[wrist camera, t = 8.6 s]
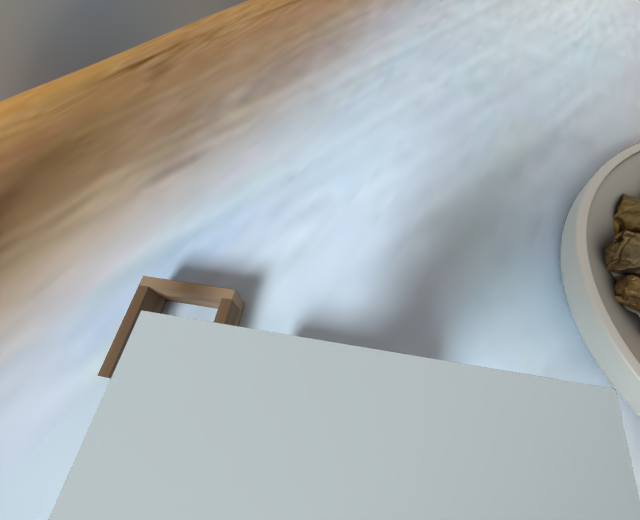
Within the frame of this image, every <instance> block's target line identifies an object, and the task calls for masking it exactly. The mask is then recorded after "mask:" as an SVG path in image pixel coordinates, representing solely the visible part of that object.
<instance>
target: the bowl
mask: <svg viewBox="0 0 640 520" xmlns="http://www.w3.org/2000/svg"><path fill="white" fill-rule="evenodd" d="M560 255H561V273H562V280H563V286H564V291H565V295H566V299H567V302H568V305H569V308H570V311H571V314H572V316H573V319H574V321H575V324H576V326H577V328H578V330H579V332H580V335H581V337H582V338H583V340H584V342H585V344H586V346H587V348H588V350H589V351H590V353H591V355H592V356H593V358H594V360H595V361H596V363H597V364H598V366H599V367H600V369H601V370H602V372H603V373H604V375H605V376H606V377H607V379H608V380H609V381H610V383H611V384H612V385H613V387H614V388H615V389H616V391H617V392H618V393H619V394H620V395H621V397H622V398H623V399H624V400H625V402H626V403H627V404H628V405H629V406H630V407H631V408H632V409H633V411H634V412H635V413H636V414H637V415H638V416H639V417H640V143H638V144H635V145H633V146H631V147H629V148H627V149H625V150H623V151H622V152H620V153H618V154H617V155H615V156H614V157H613V158H611V159H610V160H609V161H608V162H607V163H605V164H604V165H603V166H602V167H601V168H600V169H599V170H598V171H597V172H596V173H595V174H594V175H593V176H592V177H591V179H590V180H589V181H588V182H587V183H586V184H585V186H584V187H583V188H582V190H581V191H580V193H579V194H578V196H577V198H576V199H575V201H574V203H573V205H572V207H571V209H570V211H569V214H568V217H567V219H566V222H565V226H564V230H563V235H562V241H561V253H560Z"/></svg>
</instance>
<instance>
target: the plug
mask: <svg viewBox="0 0 640 520" xmlns="http://www.w3.org/2000/svg"><path fill="white" fill-rule="evenodd" d="M48 520H640V500H639V495H638V490H637V486H636V481H635V477H634V472H633V467H632V463H631V458H630V453H629V449H628V444H627V440H626V435H625V430H624V426H623V421H622V416H621V412H620V407H619V403H618V398H617V393H616V389H614V388H607V387H601V386H595V385H589V384H583V383H577V382H571V381H565V380H559V379H553V378H547V377H541V376H535V375H529V374H523V373H517V372H511V371H505V370H499V369H493V368H487V367H480V366H474V365H468V364H462V363H456V362H450V361H444V360H438V359H432V358H426V357H420V356H414V355H408V354H402V353H396V352H390V351H384V350H378V349H372V348H366V347H359V346H353V345H347V344H341V343H335V342H329V341H323V340H317V339H311V338H305V337H299V336H293V335H287V334H281V333H275V332H269V331H263V330H257V329H251V328H245V327H239V326H232V325H226V324H220V323H214V322H208V321H202V320H196V319H190V318H184V317H178V316H172V315H166V314H160V313H154V312H148V311H142V310H141V312H140V314H139V317H138V319H137V321H136V323H135V326H134V328H133V330H132V332H131V335H130V337H129V339H128V341H127V344H126V346H125V348H124V350H123V353H122V355H121V357H120V359H119V362H118V364H117V366H116V368H115V371H114V373H113V375H112V377H111V380H110V382H109V384H108V386H107V389H106V391H105V393H104V395H103V398H102V400H101V402H100V404H99V407H98V409H97V411H96V413H95V416H94V418H93V420H92V422H91V425H90V427H89V429H88V431H87V434H86V436H85V438H84V441H83V443H82V445H81V447H80V450H79V452H78V454H77V456H76V459H75V461H74V463H73V465H72V468H71V470H70V472H69V474H68V477H67V479H66V481H65V483H64V486H63V488H62V490H61V492H60V495H59V497H58V499H57V501H56V504H55V506H54V508H53V510H52V513H51V515H50V517H49V519H48Z"/></svg>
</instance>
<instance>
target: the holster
mask: <svg viewBox="0 0 640 520" xmlns="http://www.w3.org/2000/svg"><path fill="white" fill-rule="evenodd" d="M166 300H168V301H174V302H180V303H187V304H193V305H199V306H206V307H212V308H218V311H217V314H216V317H215V320H214V323H220V324H226V325H232V326H238V325H239V321H240V318H241V314H242V311H243V308H244V304H245V303H244V302H243V300H242V299H241V297H240V296H239V295H238V293H237V292H236V290H234V289H227V288H221V287H214V286H207V285H201V284H194V283H187V282H181V281H174V280H167V279H160V278H154V277H147V276H143V278H142V280H141V282H140V284H139V286H138V289H137V291H136V293H135V295H134V297H133V299H132V302H131V304H130V306H129V308H128V310H127V313H126V315H125V317H124V319H123V321H122V323H121V326H120V328H119V330H118V332H117V334H116V337H115V339H114V341H113V343H112V345H111V347H110V350H109V352H108V354H107V356H106V358H105V361H104V363H103V365H102V367H101V369H100V371H99V374H98V376H102V377H107V378H111V377H112V375H113V373H114V371H115V368H116V366H117V364H118V362H119V359H120V357H121V355H122V353H123V350H124V348H125V346H126V344H127V341H128V339H129V337H130V335H131V332H132V330H133V328H134V326H135V323H136V321H137V319H138V317H139V314H140V312H141V310H142V311H148V312H154V313H160V314H161V312H162V310H163V307H164V305H165V302H166Z"/></svg>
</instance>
